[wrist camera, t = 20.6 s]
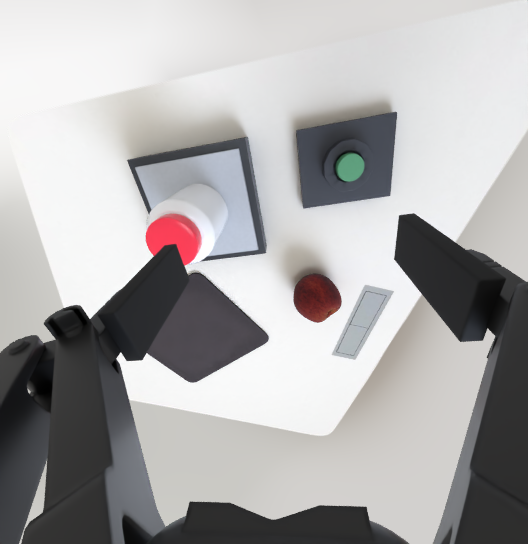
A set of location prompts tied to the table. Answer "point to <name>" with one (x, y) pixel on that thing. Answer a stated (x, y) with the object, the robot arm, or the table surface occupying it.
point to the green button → (349, 167)
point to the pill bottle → (188, 222)
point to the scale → (218, 175)
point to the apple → (316, 297)
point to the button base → (336, 142)
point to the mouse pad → (204, 332)
